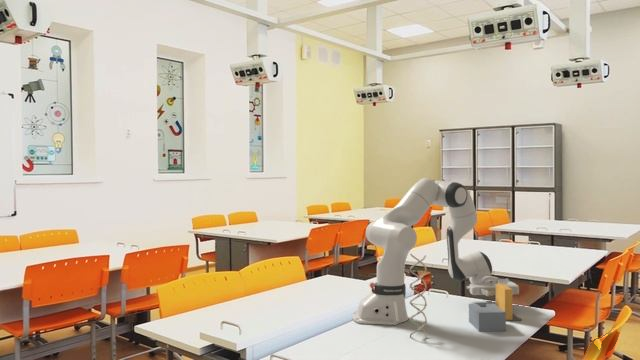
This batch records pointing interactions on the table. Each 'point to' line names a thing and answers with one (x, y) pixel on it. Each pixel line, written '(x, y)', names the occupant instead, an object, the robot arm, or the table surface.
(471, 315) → the box
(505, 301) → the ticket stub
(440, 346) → the table surface
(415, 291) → the dna model
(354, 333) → the table surface
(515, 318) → the mat
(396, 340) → the table surface
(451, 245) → the robot arm
